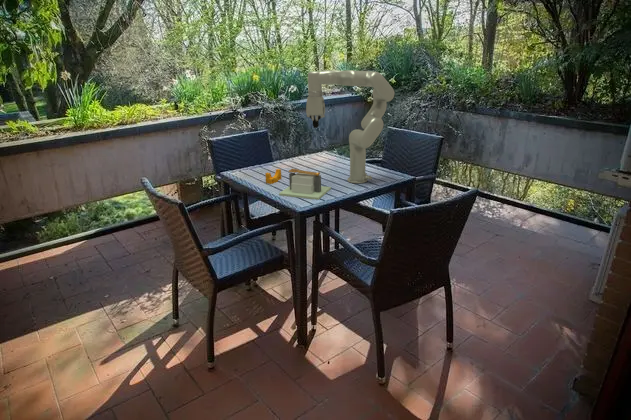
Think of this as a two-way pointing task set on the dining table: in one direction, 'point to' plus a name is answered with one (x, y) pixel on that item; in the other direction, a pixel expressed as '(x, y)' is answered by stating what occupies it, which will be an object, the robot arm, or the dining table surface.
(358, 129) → the robot arm
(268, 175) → the pipe clamp
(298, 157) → the dining table surface
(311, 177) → the board
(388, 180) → the dining table surface
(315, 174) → the strap
